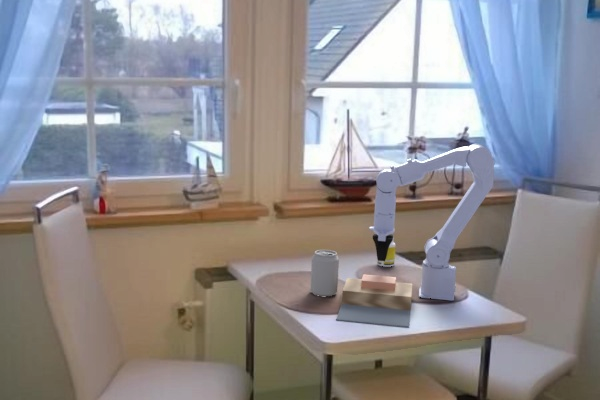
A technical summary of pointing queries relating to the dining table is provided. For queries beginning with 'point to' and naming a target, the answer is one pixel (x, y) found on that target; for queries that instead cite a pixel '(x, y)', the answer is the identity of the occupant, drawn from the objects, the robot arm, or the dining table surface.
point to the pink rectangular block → (378, 282)
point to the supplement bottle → (389, 256)
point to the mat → (374, 315)
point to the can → (324, 273)
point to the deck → (377, 295)
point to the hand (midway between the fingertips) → (381, 260)
